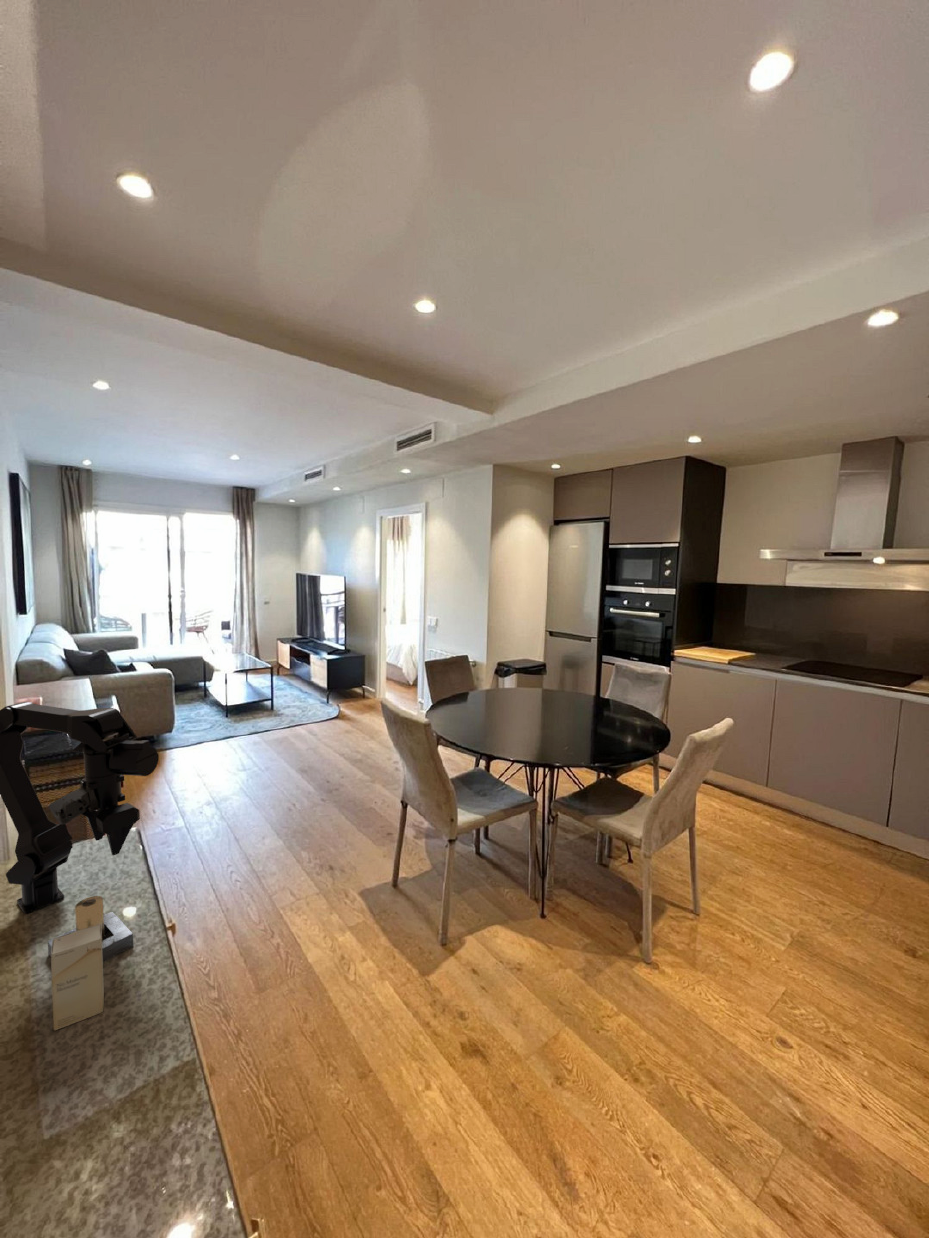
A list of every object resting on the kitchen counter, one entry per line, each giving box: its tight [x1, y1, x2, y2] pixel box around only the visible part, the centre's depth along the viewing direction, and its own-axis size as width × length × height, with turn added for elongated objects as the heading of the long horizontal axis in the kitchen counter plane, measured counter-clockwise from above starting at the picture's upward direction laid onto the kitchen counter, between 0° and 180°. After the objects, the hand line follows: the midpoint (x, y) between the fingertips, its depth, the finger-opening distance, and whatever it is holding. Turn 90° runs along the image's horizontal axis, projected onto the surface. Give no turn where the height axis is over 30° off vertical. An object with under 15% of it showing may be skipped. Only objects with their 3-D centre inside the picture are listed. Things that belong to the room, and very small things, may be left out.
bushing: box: [74, 895, 106, 941], centre depth 90 cm, size 4×4×9 cm
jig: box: [47, 911, 134, 963], centre depth 90 cm, size 10×10×2 cm
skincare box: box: [50, 924, 105, 1031], centre depth 77 cm, size 6×4×12 cm
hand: (107, 846), depth 101 cm, fingers open, 9 cm apart
